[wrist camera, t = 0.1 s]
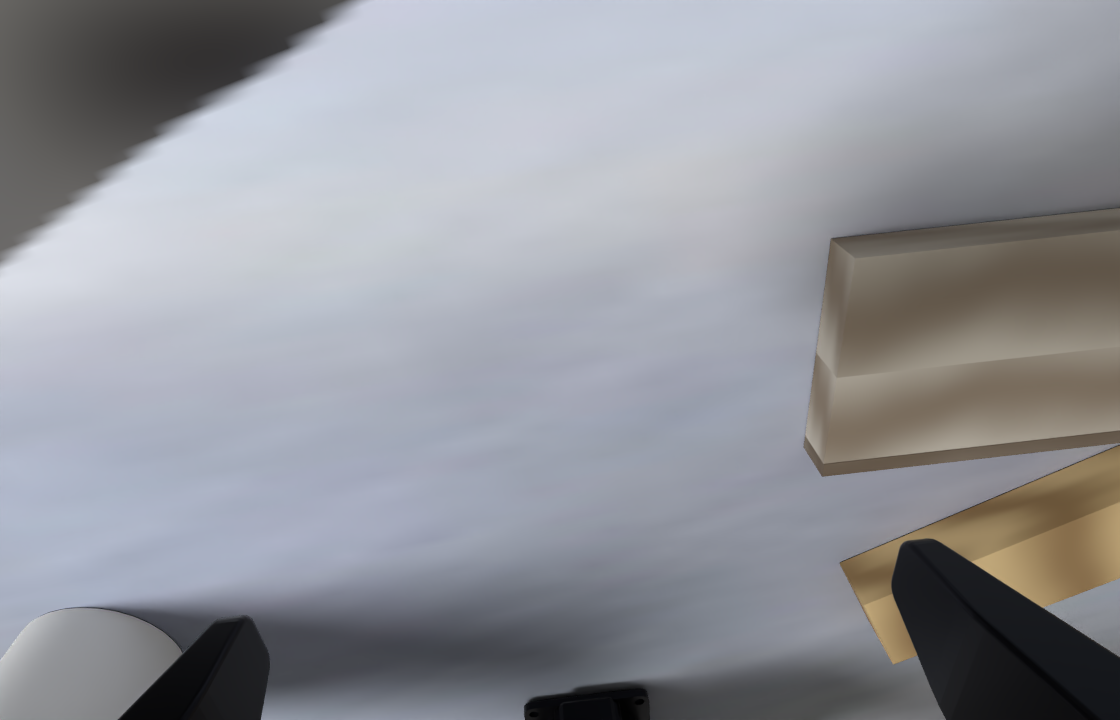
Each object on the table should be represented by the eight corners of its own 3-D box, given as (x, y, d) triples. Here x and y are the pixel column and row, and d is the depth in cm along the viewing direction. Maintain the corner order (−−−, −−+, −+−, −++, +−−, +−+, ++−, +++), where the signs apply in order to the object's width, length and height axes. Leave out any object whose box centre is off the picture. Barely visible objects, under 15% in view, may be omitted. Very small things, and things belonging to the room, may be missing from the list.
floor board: (1279, 393, 27) (1325, 419, 26) (803, 447, 27) (822, 476, 26) (1401, 177, 23) (1467, 193, 21) (831, 238, 23) (855, 258, 21)
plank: (869, 621, 33) (898, 674, 31) (839, 562, 31) (868, 615, 28) (1223, 480, 30) (1289, 526, 27) (1220, 402, 27) (1292, 445, 25)
